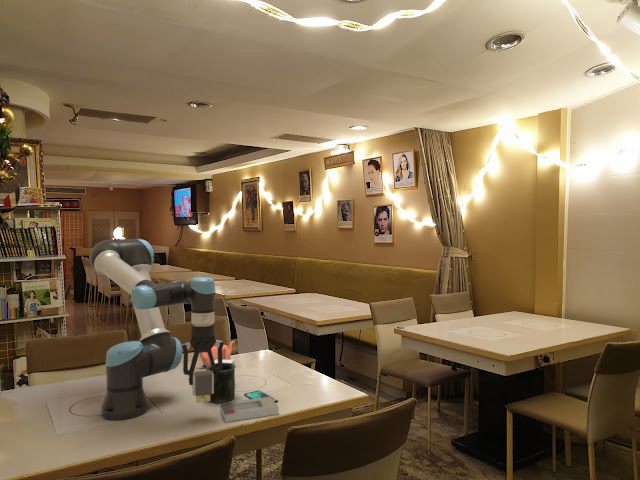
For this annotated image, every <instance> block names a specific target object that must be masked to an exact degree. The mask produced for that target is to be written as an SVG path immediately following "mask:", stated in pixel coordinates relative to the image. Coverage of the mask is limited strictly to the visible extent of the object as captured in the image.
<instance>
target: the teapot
mask: <svg viewBox="0 0 640 480" xmlns="http://www.w3.org/2000/svg"><path fill="white" fill-rule="evenodd" d="M235 342H236V341H235V340H232V341H230V342H229V344H228V345H226V344H224V345H223V348H222V360H232V359H231V355H232V352H233V344H234V343H235ZM217 348H218V347H217V346H216V343H215V344H214V346H213V347H212V349H211V351H212V355H213V359H214V361H215V360H218V351H217ZM199 358H200V359H201V361H202V365H204V366H206V367H207V366H209V365H211V363H210V360H209V356H208V353H207V352H202V353H199Z"/></svg>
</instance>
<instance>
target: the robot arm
mask: <svg viewBox="0 0 640 480" xmlns="http://www.w3.org/2000/svg"><path fill="white" fill-rule="evenodd" d="M154 257H155V253H154V249H153V247H152V245H151V243H149V242H148V241H147V240H145V239H141V238H128V239H106V240H102V241H99V242H98V243H96V244H95V245H94V246H93V247H92V249H91V250H90V252H89V257H88V261H89V264H90V266H91V268H92V269H93V270H94V271H95V272H96V273H98V274H100V275H102V276H106V277H108V279H110V280H111V281H112V282H114V283H115V284H116V285H117V286H118V287H120V288H121V289H122V290H124V291H125V292H126V293H128V294H129V296H130V302H131V304H132V306H133V310H134V314H135V316H136V320H137V324H138V328H139V331H140V335H141V337H140V339H139V340H131V341H125V342H121V343H118V344H115V345H113V346H111V347H110V348H109V349H108V350H107V351H106V354H105V358H106V359H105V369H106V370H105V371H106V372H105V373H106V374H105V375H106V393H105V397H104V399H103V403H102V406H101V417H102V418H104V419H106V420H112V421H118V420H121V421H122V420H127V419H132V418H136V417H139V416H141V415H143V414H145V413H146V412H148V410H149V401H148V397H147V395H146V393H145V392H146V391H145V389H144V381H143V379H144V378H146V377H151V376H154V375H158V374H162V373H167V372H169V371H172V370H174V369H176V368H177V367H179V365H180V363H181V362H182V358H183V364H182V365H183V369H182V371H183V374H184V375H187V376H188V384H189V386H191V389H192V392H191V393H192V396H195V397H196V395H195V374H194V372H195V369H196V366H197V362H198V358H199V357H200V353H202V352H207V353H208V356H209V360H210V363H211V367H212V370H213V372H211V374H212V394H213V393H214V383H216V382H217V373H218V372H219V371H222V369H223V368H222V348H223V345H225V343H224V341H223V340H219V339H218V340H217V339H216V336H215V335H216V334H215V332H216V329H215V328H216V327H215V324H214V323H215V321H216V320H215V319H216V318H215V313H216V312H215V308H216V307H215V303H216V299H215V298H216V289H215V287H216V286H215V285H216V284H215V279H214V278H213V277H210V276H209V277H208V276H207V277H205V276H201V277H200V276H199V277H198V276H197V277H193V278H192V279H191V281H188V280H184V279H182V280H174V281H173V282H166V283H165V282H164V283H155V282H153V281H152V279H151V275H150V273H149V272H150V271H151V270H152V266H153V264H154V261H155V258H154ZM180 304H186V305H187V304H188V305H191V313H190V316H191V318H190V321H191V324H192V325H191V326H190V327H191V331H190V332H191V334H190V335H191V337H190V340H189V341H188V342H186V343H185V342H184V343H183V342H182V343H181V341H180V339H178V338H177V337H174V336H172V332H171V331H170V330H168V329H166V327H165V324H164V321H163V317H162V314H161V311H160V307H161V308H162V307H167V306H175V305H180ZM215 343H216V346H217V347H218V348H217V351H218V367H216V366H215V362H214V359H213V355H212V351H211V349H212V347H213V346H214V344H215ZM190 347H192V348H193V350H194V352H193V356H192V359H191V363H190V365H189V350H190ZM188 365H189V366H188Z"/></svg>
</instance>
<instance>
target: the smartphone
mask: <svg viewBox="0 0 640 480" xmlns="http://www.w3.org/2000/svg"><path fill="white" fill-rule="evenodd" d="M243 396H244V397H246V398H248V400H249V399H256V398H263V397H271V398H272V399H273V401H274V402H275V403H276V404H277V403H279V400H278V399H276V398H274V397H272V396H270V395H268V393H265V392H264V391H261V390H254V391H251V392H246V393H244V394H243Z"/></svg>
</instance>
